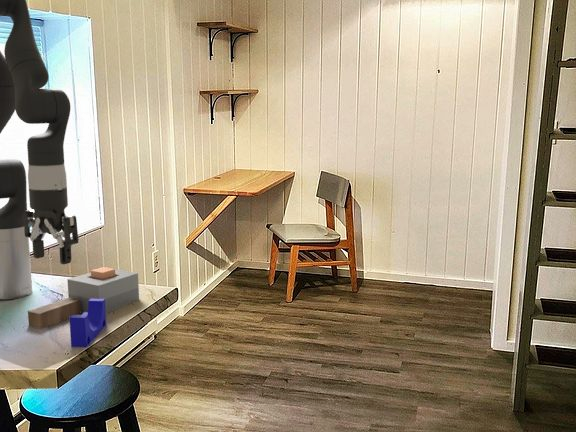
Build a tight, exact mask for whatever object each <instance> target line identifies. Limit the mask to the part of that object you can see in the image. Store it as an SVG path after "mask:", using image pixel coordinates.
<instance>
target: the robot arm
mask: <svg viewBox="0 0 576 432" xmlns="http://www.w3.org/2000/svg"><path fill="white" fill-rule="evenodd" d="M0 17H10V18H11V20H12V28H11V30H10V33H9V35H8V37H7V39H6V42H5V45H4V51H3V52H4V54H3V52H2V51H1V50H0V134H1V133H2V132H3V130H4V129H5V127H6V125H8V123H9V121H10V120H11V118H12V117H13V116H14V115H13V114H14V113H16V115H17V117H18V118H19V119H20V121H22V122H24V123H25V124H29V125H30V124H32V125H33V124H34V125H35V124H36V125H37V124H38V125H40V124H48V127H47V128H46V130H45V132H43V133H41V134H36V135H33V136H31V137H29V138H28V139H27V146H26V147H27V160H28V161H27V162H28V170H27V172H26V169H25V165H24V163H23V162H22V161H21V160H20V159H16V158H12V159H10V158H9V159H0V199H8V202H6V204H5V205H4V206H2V207H1V208H0V300H13V299H15V300H16V299H22V298H25V297H28V296H29V295H31V294H32V293H33V283H32V282H33V280H32V269H31V268H32V267H31V265H32V264H31V253H30V252H31V251H30V241H31V242H32V253H33V257H34V259H41V258H44V257H45V244H44V237H45V235H46V234H49V235H51V236H52V237H53V239H56V241H57V243H58V244H59V248H58V249H59V259H60V260H59V262H60V264H61V265H67V264H71V262H72V246H73V245H76V244H78V243H79V232H78V221H77V216H76V215H74V214H73V215H66V213H65V212H66V211H65V210H66V208H67V207H68V205H69V204H68V202H69V198H68V183H67V171H66V166H65V152H64V143H65V137H66V132H67V127H68V123H69V118H70V114H71V102H70V101H71V100H70V98H69V97H68V95H67V94H66V92H65V91H63V90H62V89H58V88H44V87H45V86H46V85H47V84H48V81H49V78H50V77H49V72H48V69H47V67H46V64H45V62H44V60H43V57H42V55H41V53H40V50H39V46H38V45H37V42H36V39H35V34H34V30H33V26H32V20H31V15H30V11H29V7H28V3H27V0H0ZM27 181H28V182H27ZM27 183H28V193H27ZM28 194H29V195H28ZM27 195H28V197H29V208H30V209H28V204H27V203H28V201H27ZM71 235H72V236H71ZM71 237H72V238H71ZM63 238H64V239H63ZM29 240H30V241H29Z"/></svg>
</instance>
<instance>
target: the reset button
mask: <svg viewBox="0 0 576 432" xmlns="http://www.w3.org/2000/svg"><path fill="white" fill-rule="evenodd" d="M115 269H116V268H113V269H112V267H106V266H105V267H104V266H103V267H99V268H95V269H91V270H90V273H91V277H94V278H98V280H105V279H109V278H108V277H112V276H115Z"/></svg>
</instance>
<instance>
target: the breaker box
mask: <svg viewBox="0 0 576 432" xmlns="http://www.w3.org/2000/svg"><path fill="white" fill-rule="evenodd" d="M111 268H112V267H111ZM112 269H115V276H112V277H108V278H109V279H105V280H98V278H94V277H91V272H87V273H84V274H80V275H77V276H74V277H71V278H67V293H68V294H67V295H68V298H73V299H78V300H80V309H81V313H84V312H88V301H89V300H90V299H105V310H106V315H107V314H108V313H111V312H114V311H115V310H118V309H120V308H122V307H124V306H127V305H130V304H132V303H134V302H137V301H139V300H140V291H139V290H140V289H139V287H140V286H139V273H138V272H135V271H134V272H133V271H127V270H123V269H118V268H112ZM131 302H132V303H131ZM129 303H130V304H129Z"/></svg>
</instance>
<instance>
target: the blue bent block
mask: <svg viewBox="0 0 576 432" xmlns="http://www.w3.org/2000/svg"><path fill="white" fill-rule="evenodd" d="M68 319H69V332H70V335H69V336H70V347H71V348H87V347H88V346H89V345H90V344H91V343H92V342H93V341H94V340H95V338H97V336H99V334H100V333H101V332H102V331H103V330H104V329H105V328H106V327H107V314H106V310H105V299H90V300H89V301H88V312H82V314H79V315H72V316H71V317H69V318H68Z"/></svg>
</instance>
